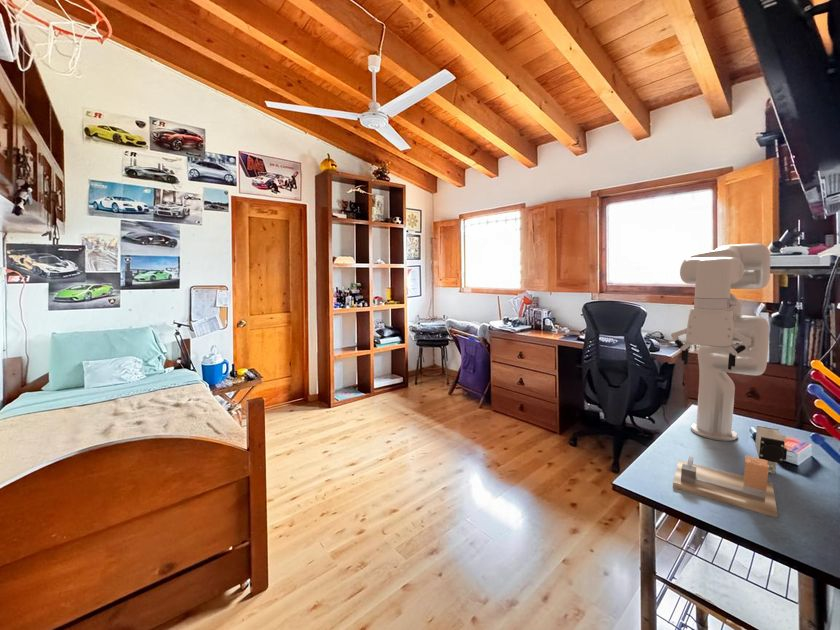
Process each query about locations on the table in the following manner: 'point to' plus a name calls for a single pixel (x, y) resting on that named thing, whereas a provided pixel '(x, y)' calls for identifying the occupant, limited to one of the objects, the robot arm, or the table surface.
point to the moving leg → (755, 476)
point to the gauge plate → (722, 487)
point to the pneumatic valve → (770, 446)
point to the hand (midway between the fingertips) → (707, 366)
